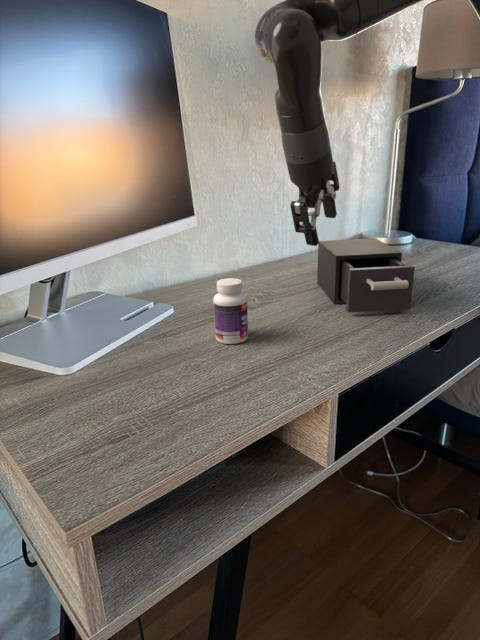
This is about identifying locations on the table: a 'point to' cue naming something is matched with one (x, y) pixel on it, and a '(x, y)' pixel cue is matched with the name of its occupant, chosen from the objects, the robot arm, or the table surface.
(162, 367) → the table surface
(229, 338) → the pill bottle
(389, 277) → the dark drawer box
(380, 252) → the small drawer unit
